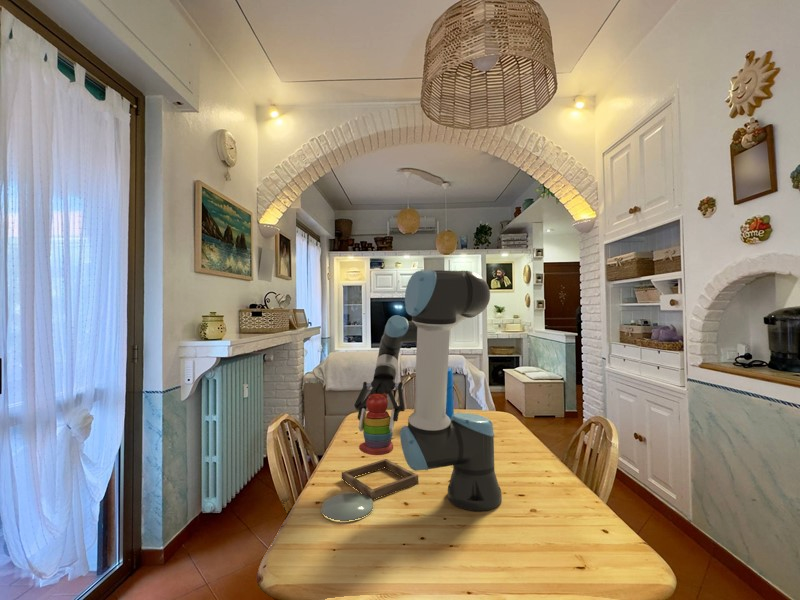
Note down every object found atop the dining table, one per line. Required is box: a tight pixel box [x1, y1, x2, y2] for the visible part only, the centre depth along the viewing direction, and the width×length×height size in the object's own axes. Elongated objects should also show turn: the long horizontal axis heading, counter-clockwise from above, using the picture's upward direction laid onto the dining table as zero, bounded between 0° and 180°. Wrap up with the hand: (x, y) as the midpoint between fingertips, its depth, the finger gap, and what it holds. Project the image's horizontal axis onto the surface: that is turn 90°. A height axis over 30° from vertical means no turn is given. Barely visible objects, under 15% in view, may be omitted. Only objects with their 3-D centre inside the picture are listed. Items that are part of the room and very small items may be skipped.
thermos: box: [446, 368, 455, 421], centre depth 185 cm, size 11×11×25 cm
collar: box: [341, 458, 419, 501], centre depth 121 cm, size 17×17×2 cm
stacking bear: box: [358, 393, 394, 456], centre depth 122 cm, size 11×10×18 cm
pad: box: [321, 492, 374, 521], centre depth 105 cm, size 14×14×1 cm
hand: (375, 429), depth 119 cm, fingers closed on stacking bear, 9 cm apart
